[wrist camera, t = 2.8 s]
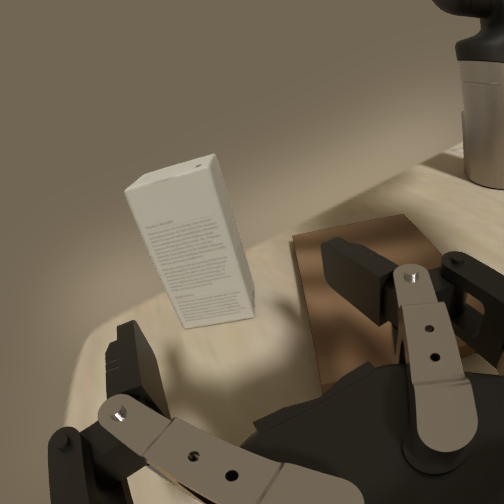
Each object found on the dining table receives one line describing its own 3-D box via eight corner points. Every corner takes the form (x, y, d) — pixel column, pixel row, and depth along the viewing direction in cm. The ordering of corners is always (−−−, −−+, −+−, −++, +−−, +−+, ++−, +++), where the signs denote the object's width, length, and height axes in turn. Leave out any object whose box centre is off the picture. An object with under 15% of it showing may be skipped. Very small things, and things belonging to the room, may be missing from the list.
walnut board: (294, 246, 32) (292, 235, 32) (403, 224, 31) (403, 213, 30) (323, 395, 16) (321, 384, 16) (497, 343, 15) (502, 330, 14)
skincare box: (255, 287, 28) (218, 151, 22) (255, 319, 24) (210, 165, 18) (190, 298, 28) (142, 173, 23) (181, 330, 25) (121, 191, 19)
